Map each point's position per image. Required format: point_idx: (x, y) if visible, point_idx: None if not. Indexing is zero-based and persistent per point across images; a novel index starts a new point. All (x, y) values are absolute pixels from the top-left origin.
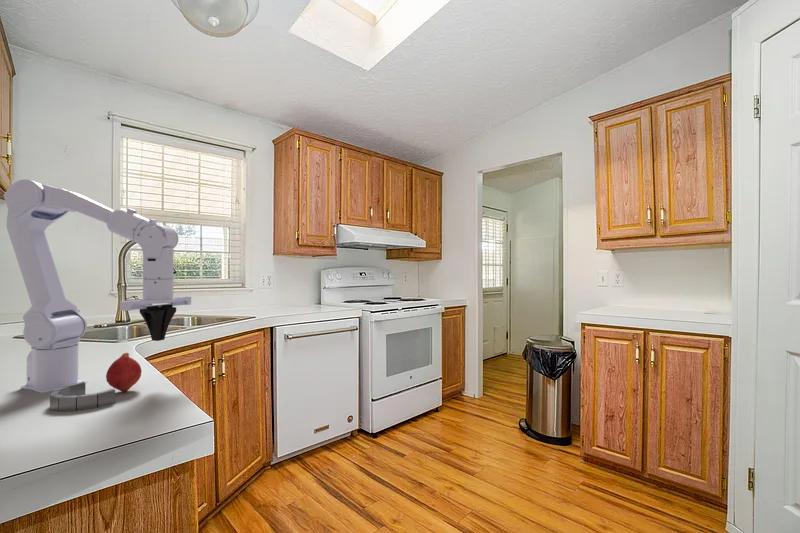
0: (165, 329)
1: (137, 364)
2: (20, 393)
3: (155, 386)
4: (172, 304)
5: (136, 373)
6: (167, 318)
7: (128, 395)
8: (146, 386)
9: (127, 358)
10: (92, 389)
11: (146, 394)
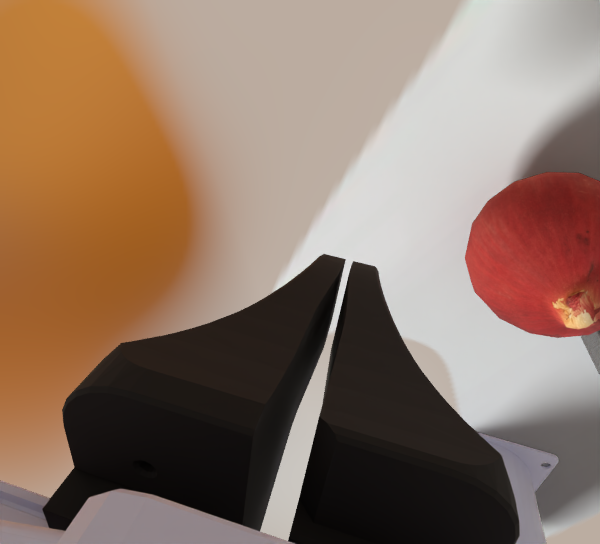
0: (305, 286)
1: (542, 219)
2: (570, 499)
3: (433, 139)
4: (30, 521)
5: (568, 178)
6: (266, 341)
7: (587, 149)
8: (440, 182)
9: (589, 278)
10: (509, 350)
11: (568, 70)
